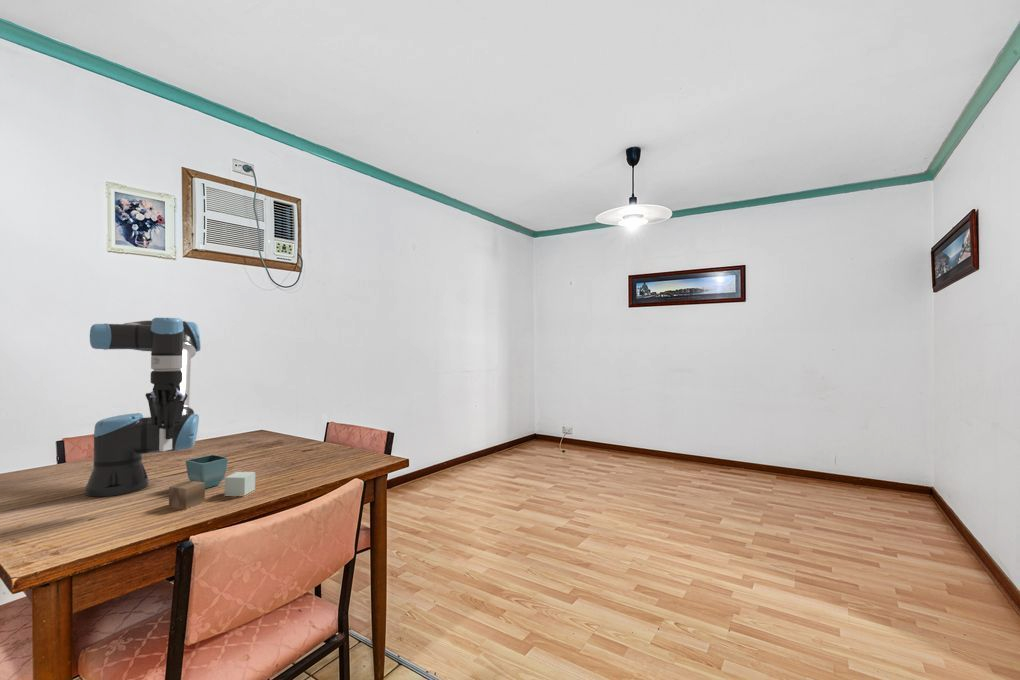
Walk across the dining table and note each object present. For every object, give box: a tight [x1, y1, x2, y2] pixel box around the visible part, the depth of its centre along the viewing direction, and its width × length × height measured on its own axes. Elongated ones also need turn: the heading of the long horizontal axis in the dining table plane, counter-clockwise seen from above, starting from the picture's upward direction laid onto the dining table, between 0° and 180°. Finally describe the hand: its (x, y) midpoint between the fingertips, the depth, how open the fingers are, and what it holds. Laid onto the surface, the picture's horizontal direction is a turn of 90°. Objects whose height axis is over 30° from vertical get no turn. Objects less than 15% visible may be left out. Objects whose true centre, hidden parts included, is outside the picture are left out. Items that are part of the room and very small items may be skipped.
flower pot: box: [185, 454, 229, 489], centre depth 149 cm, size 9×9×9 cm
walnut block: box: [168, 480, 206, 511], centre depth 132 cm, size 6×6×6 cm
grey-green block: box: [224, 471, 256, 497], centre depth 142 cm, size 6×6×6 cm
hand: (165, 449), depth 134 cm, fingers closed
